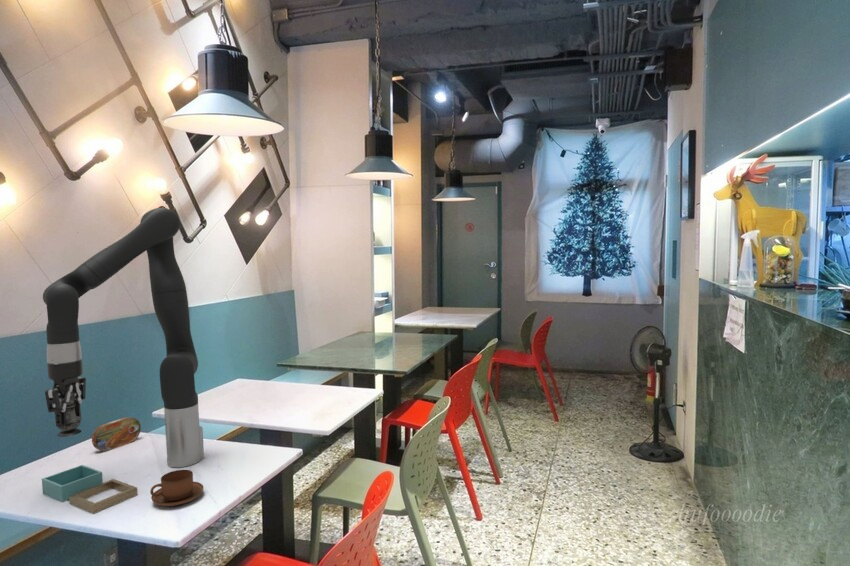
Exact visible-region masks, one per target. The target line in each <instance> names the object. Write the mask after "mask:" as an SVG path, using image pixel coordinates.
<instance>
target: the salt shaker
mask: <svg viewBox="0 0 850 566" xmlns="http://www.w3.org/2000/svg"><path fill="white" fill-rule="evenodd" d="M60 400H63V399H60ZM60 406H62V403H60ZM75 406H76V404H74V395H73V393H71V394H70V399H69V402H68V403H67V404H66V409H65V412H66V423H67V424H66V425H65V426H63V427H57V429H59V430H60V432H58V433H57V437H60V438H65V437H66V438H67V437H71V436H72V437H73V436H75V435H79V434H81V433H82V430H81V429H79V428H78V427H79V426H81V421H82V419H83V418H82V416H81V417H78V416H76V414H75ZM54 424H56V421H55V422H54Z"/></svg>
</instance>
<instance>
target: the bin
mask: <svg viewBox="0 0 850 566" xmlns="http://www.w3.org/2000/svg"><path fill="white" fill-rule="evenodd" d="M101 483H104V481H103V471H101V470H98V469H95V468H91V467H89V466H87V465H83V464H81V465H78V466H75V467H72V468H69V469H66V470H63V471H60V472H58V473H55V474H52V475H50V476H46V477H43V478H41V487H42V489H41V490H42V494H43V495H45V496H47V497H50V498H52V499H55V500H57V501H59V502H61V503H64V502H67V501H68V500H69V496H70V495H73V494H75V493H78V492H80V491H83V490H86V489H88V488H91V487H93V486H96V485H99V484H101Z"/></svg>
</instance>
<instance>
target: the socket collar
mask: <svg viewBox="0 0 850 566" xmlns="http://www.w3.org/2000/svg"><path fill="white" fill-rule="evenodd" d="M111 489H113V490H115V491H119V492H118V493H116V494H113V495H111V496H109V497H105V498H104V499H102V500H98V501H96V502H93V501H91V500H88V498H91V497H94V496H96V495H98V494H101V493H102V494H103V492H106V491H107V492H108V491H110V490H111ZM138 494H139V493H138V486H135V485H132V484H129V483H127V482H123V481H121V480H117V479H116V478H111V479H109V480H107V481H103V483H101V484H99V485H96V486H93V487H91V488H88V489H86V490H83V491H80V492H78V493H75V494H73V495H70V496H69V502H68V503H69V504H70V505H72V506H74V507H76V508H79V509H81V510H84V511H85V512H89V513H90V514H92V515H93V514H96V513H98V512H102V511H103V510H105V509H108V508H111V507H114V506H115V505H118V504H119V503H122V502H124V501H126V500H129V499H131V498H134V497H136V496H138Z"/></svg>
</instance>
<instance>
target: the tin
mask: <svg viewBox="0 0 850 566" xmlns="http://www.w3.org/2000/svg"><path fill="white" fill-rule="evenodd" d="M141 429H142V426H141V423H140V421H139V420H138V419H137V418H135V417H130V416H129V417H128V416H126V417H122V418H119V419H116V420H113V421H109V422H107V423H104V424H101V425H99V426H98V427H96V428H95V430H94V431H93V433H92V436H91V444H92V446H93V447H94V448H95V449H97V450H98V451H102V452H109V451H111V450H115V449H117V448H120V447H123V446H125V445H128V444H130V443H133V442H134V441H136V440H137V438H139V436H140V433H141V431H142V430H141Z"/></svg>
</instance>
